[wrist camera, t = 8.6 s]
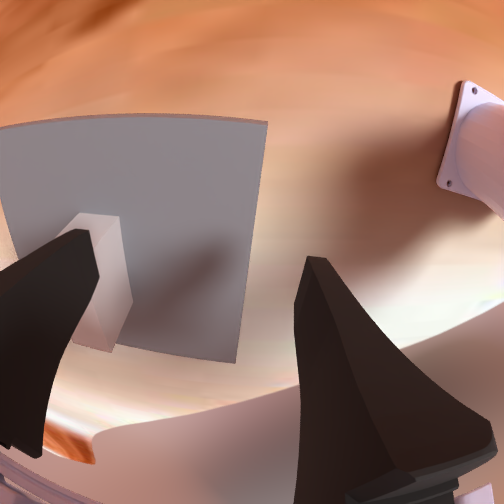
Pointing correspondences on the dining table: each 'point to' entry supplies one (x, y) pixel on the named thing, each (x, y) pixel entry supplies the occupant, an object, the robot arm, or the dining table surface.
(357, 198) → the dining table surface
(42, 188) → the lid
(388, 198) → the dining table surface
